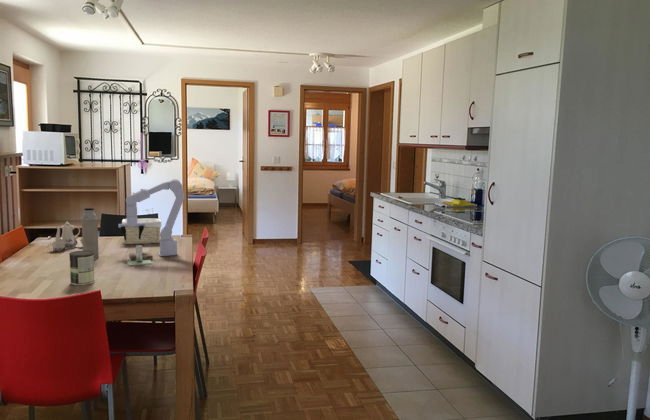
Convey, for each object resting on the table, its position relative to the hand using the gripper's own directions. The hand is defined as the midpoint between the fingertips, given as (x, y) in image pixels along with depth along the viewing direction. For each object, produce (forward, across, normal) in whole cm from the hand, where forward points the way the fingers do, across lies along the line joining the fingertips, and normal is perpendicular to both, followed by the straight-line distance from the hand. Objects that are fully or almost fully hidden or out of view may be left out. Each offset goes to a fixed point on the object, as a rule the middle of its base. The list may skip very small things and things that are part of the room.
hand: (132, 239), depth 304 cm
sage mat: (+9, -1, +21) cm, 23 cm away
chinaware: (+10, +32, -36) cm, 49 cm away
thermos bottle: (+10, +22, -2) cm, 24 cm away
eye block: (+9, -3, +10) cm, 14 cm away
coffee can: (+10, +28, +52) cm, 60 cm away
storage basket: (+10, -10, -41) cm, 43 cm away
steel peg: (+9, -1, +21) cm, 22 cm away
